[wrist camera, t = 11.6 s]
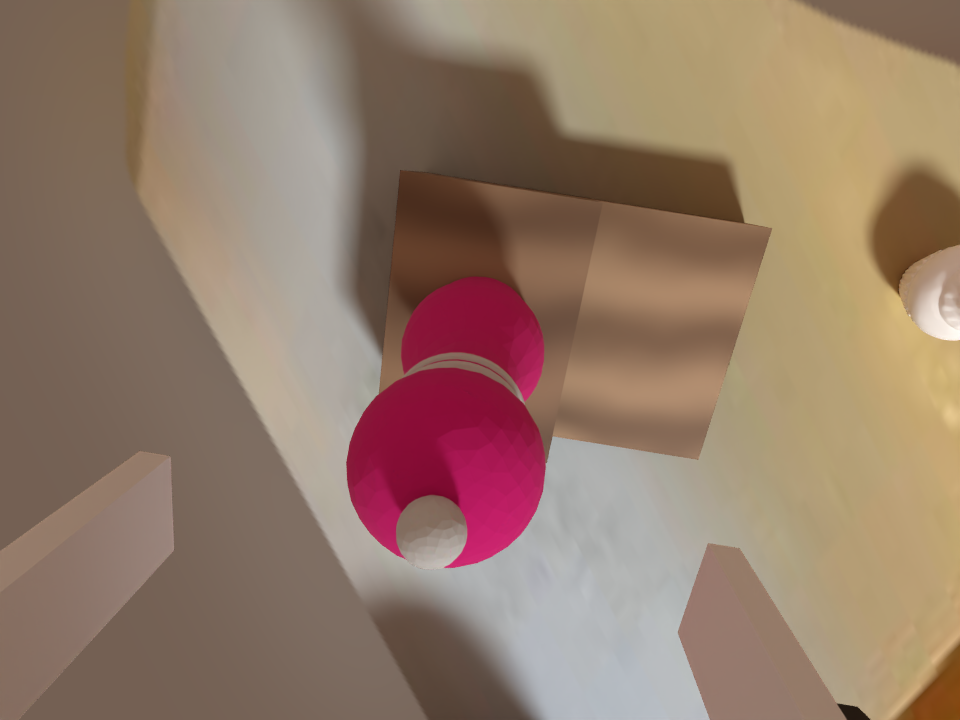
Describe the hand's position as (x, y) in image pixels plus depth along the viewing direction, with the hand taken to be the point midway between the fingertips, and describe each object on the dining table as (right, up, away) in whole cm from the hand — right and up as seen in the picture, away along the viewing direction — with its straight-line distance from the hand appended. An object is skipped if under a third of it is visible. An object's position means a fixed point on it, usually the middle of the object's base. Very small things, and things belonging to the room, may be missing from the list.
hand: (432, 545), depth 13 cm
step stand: (+7, +8, +26) cm, 28 cm away
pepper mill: (+1, +6, +18) cm, 20 cm away
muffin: (+32, +10, +24) cm, 41 cm away
